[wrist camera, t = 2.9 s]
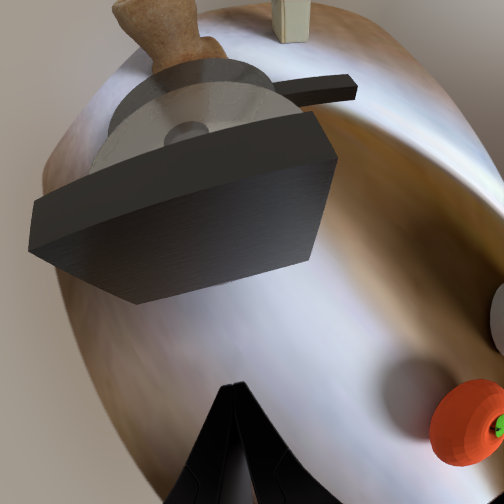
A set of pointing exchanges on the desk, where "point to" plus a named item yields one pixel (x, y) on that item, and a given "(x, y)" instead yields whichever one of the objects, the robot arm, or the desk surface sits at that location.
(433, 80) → the desk surface
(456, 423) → the clementine
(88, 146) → the desk surface
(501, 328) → the can
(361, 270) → the desk surface
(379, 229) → the desk surface
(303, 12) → the skincare box
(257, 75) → the pot
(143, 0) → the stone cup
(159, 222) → the lid
